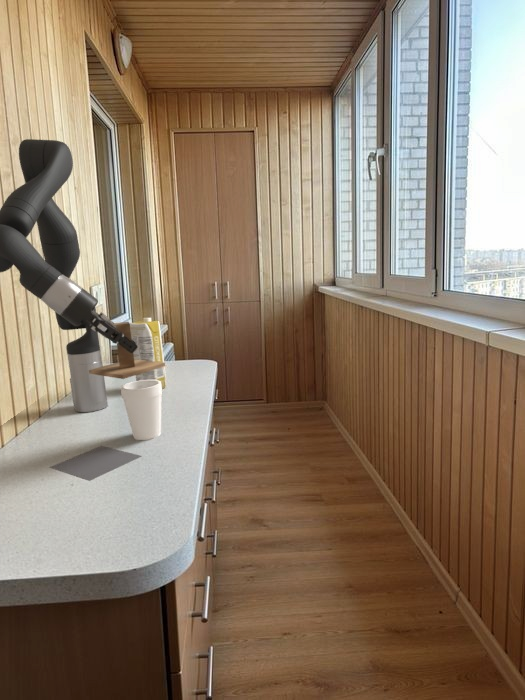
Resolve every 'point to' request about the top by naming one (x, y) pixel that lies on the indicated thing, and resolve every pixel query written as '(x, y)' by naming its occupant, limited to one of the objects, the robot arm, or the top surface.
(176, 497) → the top surface
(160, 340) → the juice carton
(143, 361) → the lid
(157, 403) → the foam cup
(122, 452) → the mat
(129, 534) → the top surface
